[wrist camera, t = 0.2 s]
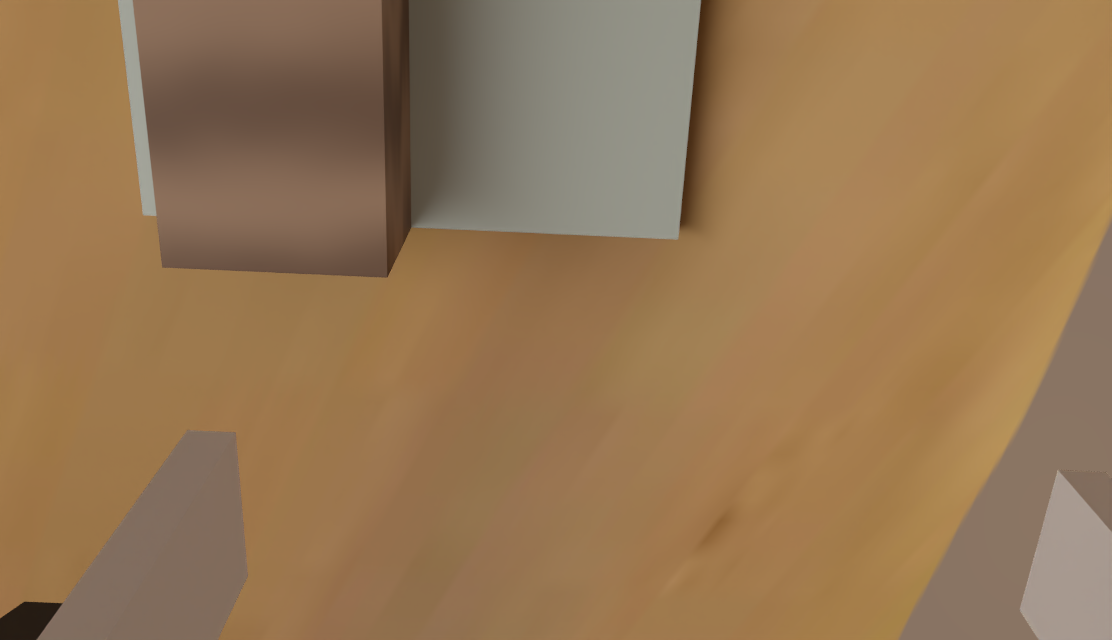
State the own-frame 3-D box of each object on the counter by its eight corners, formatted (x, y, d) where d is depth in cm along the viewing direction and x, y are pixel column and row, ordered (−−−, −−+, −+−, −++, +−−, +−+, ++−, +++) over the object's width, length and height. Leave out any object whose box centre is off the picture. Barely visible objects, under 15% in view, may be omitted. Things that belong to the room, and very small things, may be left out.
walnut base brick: (188, -98, 37) (121, -98, 31) (407, -87, 37) (379, -86, 31) (216, 218, 41) (162, 267, 36) (411, 227, 42) (387, 277, 36)
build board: (116, -131, 38) (102, -132, 36) (706, -102, 38) (710, -103, 37) (154, 206, 43) (143, 214, 41) (675, 230, 43) (678, 239, 42)
